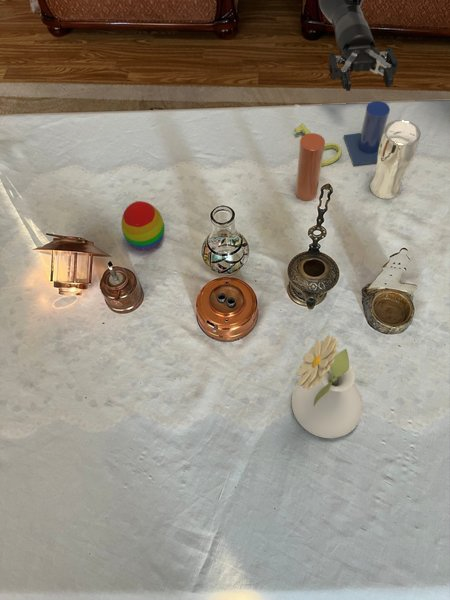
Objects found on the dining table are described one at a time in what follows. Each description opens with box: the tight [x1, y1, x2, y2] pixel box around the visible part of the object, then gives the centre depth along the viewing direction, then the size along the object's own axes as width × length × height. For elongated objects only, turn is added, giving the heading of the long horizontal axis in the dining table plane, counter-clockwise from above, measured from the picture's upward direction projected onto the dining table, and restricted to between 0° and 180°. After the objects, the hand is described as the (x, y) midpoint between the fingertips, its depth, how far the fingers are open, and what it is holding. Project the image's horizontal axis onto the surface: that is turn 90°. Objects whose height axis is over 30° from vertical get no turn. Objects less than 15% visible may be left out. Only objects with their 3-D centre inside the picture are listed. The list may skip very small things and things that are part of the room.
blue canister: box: [358, 100, 391, 154], centre depth 110 cm, size 5×5×10 cm
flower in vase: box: [291, 334, 364, 439], centre depth 75 cm, size 13×11×25 cm
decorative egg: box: [121, 200, 165, 251], centre depth 102 cm, size 8×8×10 cm
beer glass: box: [369, 119, 421, 200], centre depth 103 cm, size 7×7×15 cm
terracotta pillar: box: [294, 132, 326, 202], centre depth 104 cm, size 5×5×14 cm
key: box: [293, 123, 343, 167], centre depth 115 cm, size 7×12×2 cm, turn 49°
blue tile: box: [343, 132, 377, 167], centre depth 115 cm, size 9×9×1 cm
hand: (369, 85), depth 110 cm, fingers open, 8 cm apart
